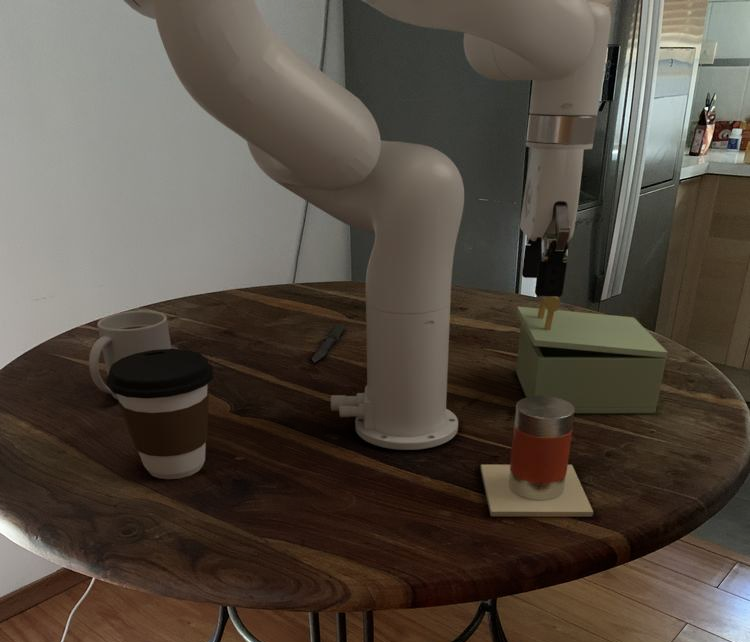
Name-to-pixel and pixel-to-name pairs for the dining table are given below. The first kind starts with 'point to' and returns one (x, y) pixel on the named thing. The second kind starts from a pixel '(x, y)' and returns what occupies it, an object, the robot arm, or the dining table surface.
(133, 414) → the coffee cup
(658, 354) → the lid
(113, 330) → the mug
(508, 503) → the mat
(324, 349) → the knife
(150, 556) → the dining table surface
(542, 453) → the can
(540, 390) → the chest
